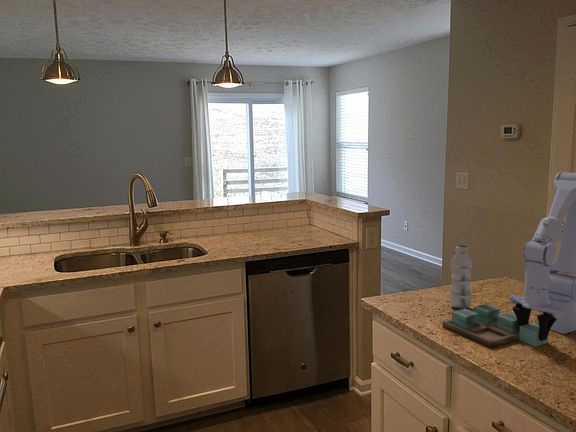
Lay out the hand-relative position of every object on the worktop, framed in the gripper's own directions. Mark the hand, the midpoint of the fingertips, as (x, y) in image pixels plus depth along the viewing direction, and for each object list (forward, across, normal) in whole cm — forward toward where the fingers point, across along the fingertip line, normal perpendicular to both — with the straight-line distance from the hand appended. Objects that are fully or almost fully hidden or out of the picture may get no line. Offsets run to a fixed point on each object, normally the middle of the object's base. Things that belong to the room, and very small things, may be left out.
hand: (533, 336), depth 137 cm
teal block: (+2, 0, 0) cm, 2 cm away
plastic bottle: (+2, -29, +3) cm, 29 cm away
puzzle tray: (+2, -11, -5) cm, 12 cm away
